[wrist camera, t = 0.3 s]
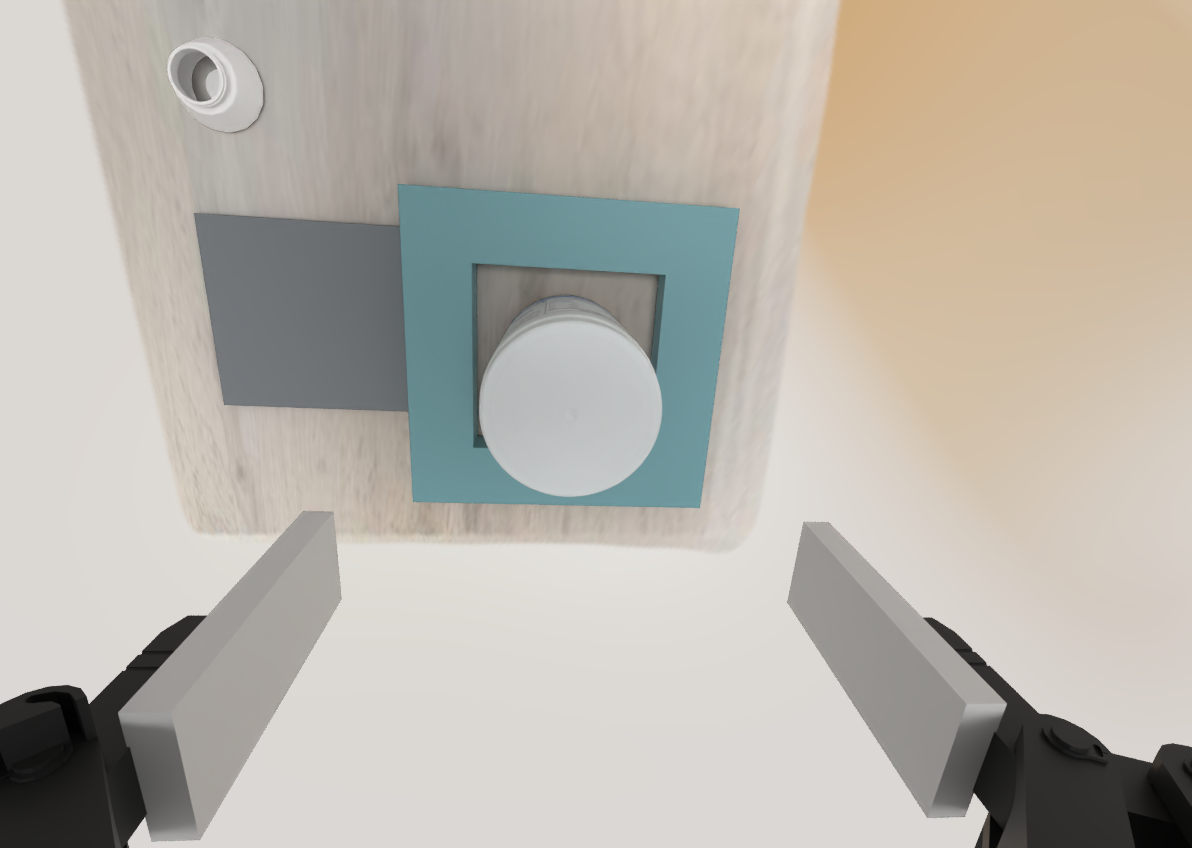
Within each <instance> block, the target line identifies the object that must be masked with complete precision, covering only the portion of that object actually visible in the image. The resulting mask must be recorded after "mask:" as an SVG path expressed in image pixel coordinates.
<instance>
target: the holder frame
mask: <svg viewBox="0 0 1192 848" xmlns="http://www.w3.org/2000/svg"><path fill="white" fill-rule="evenodd" d="M398 199H399V220H400V241H401V262H402V283H403V304H404V325H405V346H406V367H407V387H408V408H409V429H410V450H411V471H412V492H413V502H441V503H489V504H537V505H584V506H632V507H680V508H700V502H701V495H702V487H703V480H704V472H705V465H706V457H707V450H708V442H709V435H710V427H711V420H712V412H713V405H714V397H715V390H716V382H717V375H718V367H719V360H720V352H721V345H722V337H723V330H724V322H725V315H726V308H727V300H728V293H729V285H730V278H731V270H732V263H733V255H734V248H735V240H736V233H737V225H738V218H739V210H740V209H739V208H725V207H711V206H697V205H683V204H669V203H655V202H641V201H627V200H613V199H599V198H585V197H571V196H557V195H543V194H529V193H515V192H502V191H488V190H474V189H460V188H446V187H432V186H418V185H404V184H398ZM477 264H493V265H510V266H526V267H543V268H560V269H577V270H593V271H610V272H627V273H643V274H659V280H658V290H657V301H656V312H655V322H654V333H653V344H652V354H651V364H652V366H653V368H654V371H655V374H656V377H657V380H658V383H659V386H660V391H661V397H662V419H661V425H660V429H659V433H658V436H657V439H656V441H655V444H654V446H653V447H652V449H651V451H650V453H649V454H648V456H647V457H646V459H645V460H644V462H643V463H642V464H641V465H640V466H639V467H638V468H637V469H636V470H635V471H634V472H633V473H632V474H631V475H630V476H629V477H627V478H626V479H624V480H623V481H622V482H620V483H618V484H617V485H615V486H613V487H611V488H609V489H606V490H604V491H601V492H598V493H594V494H590V495H585V496H576V497H562V496H554V495H549V494H545V493H541V492H539V491H536V490H534V489H531V488H529V487H527V486H525V485H523V484H522V483H520V482H519V481H517V480H516V479H514V478H513V477H511V476H510V475H509V474H508V473H507V472H506V471H505V470H504V469H503V468H502V467H501V466H500V465H499V464H498V462H497V461H496V460H495V458H494V457H493V455H492V454H491V452H490V450H489V448H488V446H487V444H486V442H485V439H484V436H478V405H477Z"/></svg>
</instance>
